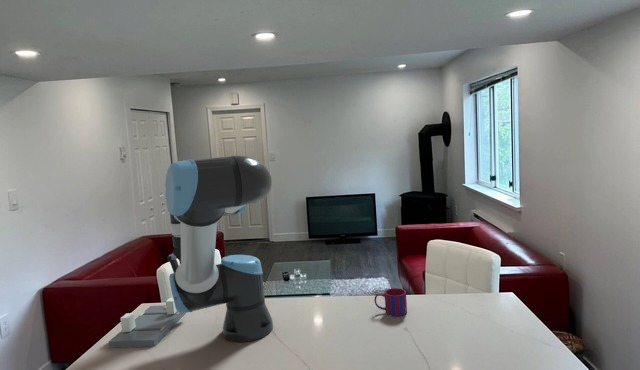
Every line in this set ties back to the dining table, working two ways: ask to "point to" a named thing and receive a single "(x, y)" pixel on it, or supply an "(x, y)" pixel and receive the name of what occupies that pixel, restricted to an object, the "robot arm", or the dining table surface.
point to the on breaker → (128, 322)
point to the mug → (394, 302)
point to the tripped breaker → (170, 306)
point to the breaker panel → (147, 328)
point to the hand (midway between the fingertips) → (191, 302)
